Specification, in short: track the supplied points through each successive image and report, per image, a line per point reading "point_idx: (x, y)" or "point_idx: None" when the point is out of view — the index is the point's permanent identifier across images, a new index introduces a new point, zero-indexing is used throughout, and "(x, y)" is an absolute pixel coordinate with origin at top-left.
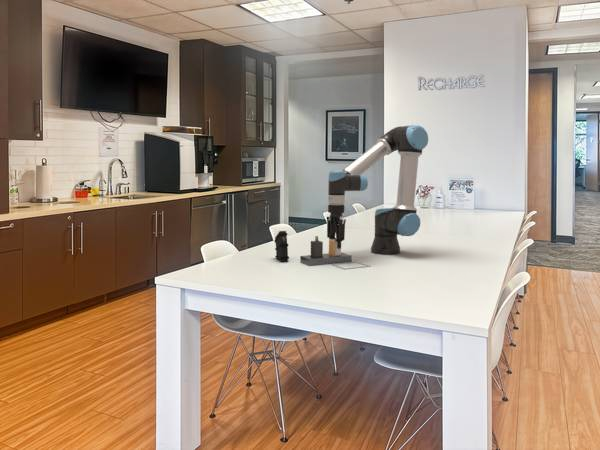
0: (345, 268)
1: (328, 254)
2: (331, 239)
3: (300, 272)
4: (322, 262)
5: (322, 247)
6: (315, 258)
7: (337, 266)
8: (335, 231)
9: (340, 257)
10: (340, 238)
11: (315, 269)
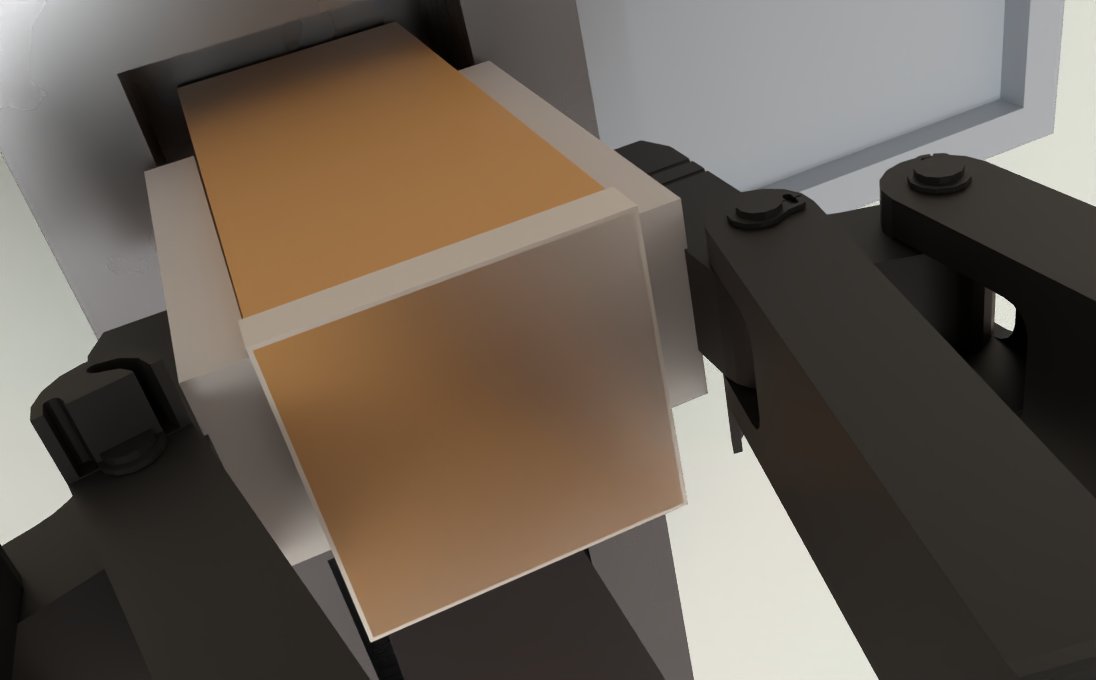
0: (1034, 101)
1: None
2: (525, 561)
3: (815, 665)
4: None
5: (640, 641)
6: (650, 608)
7: (854, 203)
8: (340, 643)
9: (582, 89)
10: (1014, 343)
11: (723, 507)
